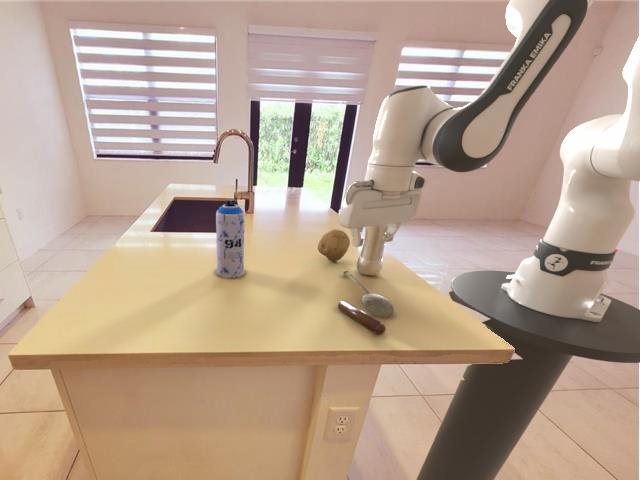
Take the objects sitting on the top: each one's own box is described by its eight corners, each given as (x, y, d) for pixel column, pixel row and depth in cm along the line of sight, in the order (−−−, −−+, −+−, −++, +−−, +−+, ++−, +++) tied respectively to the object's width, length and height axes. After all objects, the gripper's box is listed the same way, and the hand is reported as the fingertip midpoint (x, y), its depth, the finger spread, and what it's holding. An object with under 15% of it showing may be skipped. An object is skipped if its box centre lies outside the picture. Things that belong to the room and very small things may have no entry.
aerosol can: (219, 279, 84) (218, 203, 75) (214, 268, 91) (212, 197, 82) (247, 276, 86) (249, 201, 77) (240, 265, 93) (241, 196, 83)
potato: (315, 264, 94) (319, 232, 90) (316, 254, 102) (320, 224, 97) (346, 267, 92) (353, 234, 88) (345, 257, 100) (350, 226, 95)
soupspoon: (368, 320, 68) (396, 320, 68) (372, 307, 66) (401, 307, 67) (334, 275, 87) (356, 276, 87) (336, 264, 85) (359, 265, 86)
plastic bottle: (367, 267, 93) (382, 198, 83) (385, 276, 87) (403, 202, 78) (350, 271, 90) (364, 199, 81) (368, 280, 85) (384, 204, 76)
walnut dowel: (343, 306, 72) (344, 297, 71) (386, 335, 62) (389, 324, 61) (334, 309, 71) (336, 299, 70) (378, 338, 61) (380, 327, 60)
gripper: (361, 183, 59) (347, 253, 65) (432, 179, 67) (414, 242, 73) (338, 179, 63) (327, 244, 70) (407, 176, 72) (392, 234, 78)
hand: (372, 243), depth 72 cm, fingers open, 8 cm apart
